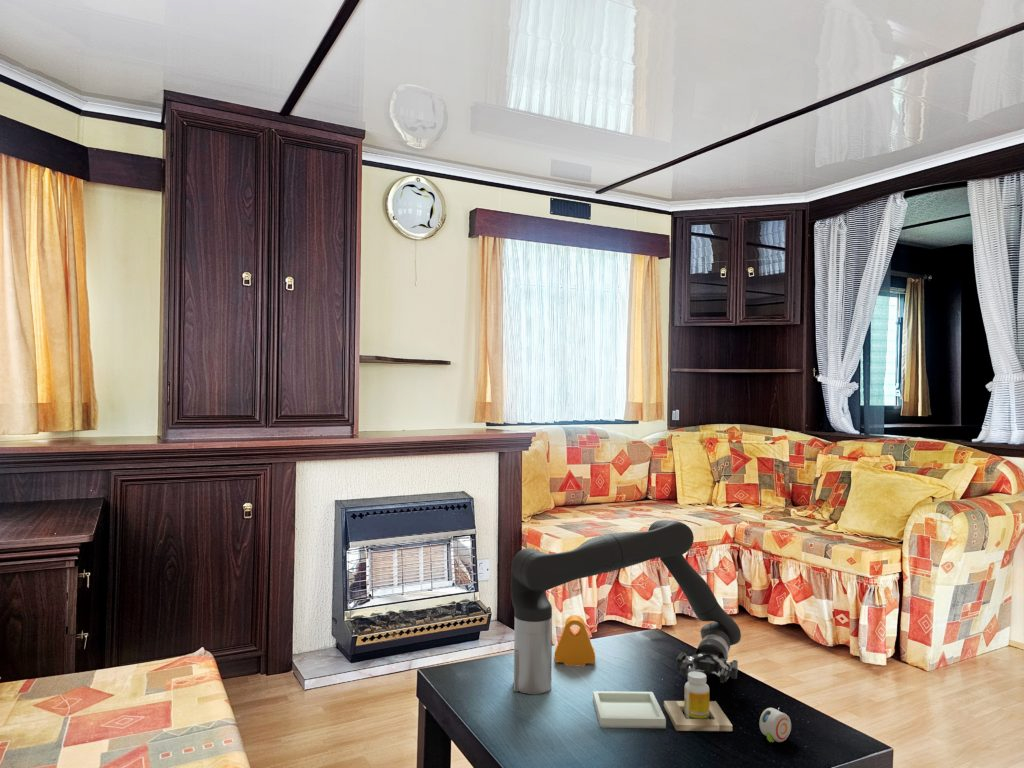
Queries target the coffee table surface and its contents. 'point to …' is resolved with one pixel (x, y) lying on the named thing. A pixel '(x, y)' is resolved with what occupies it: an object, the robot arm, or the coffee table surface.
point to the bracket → (574, 644)
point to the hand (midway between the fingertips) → (702, 675)
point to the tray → (628, 710)
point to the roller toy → (775, 725)
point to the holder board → (682, 724)
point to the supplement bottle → (696, 696)
